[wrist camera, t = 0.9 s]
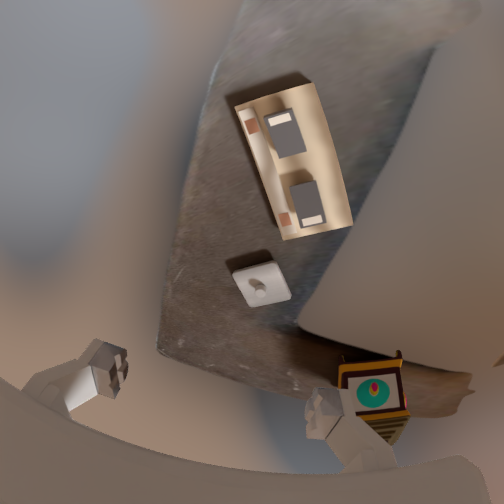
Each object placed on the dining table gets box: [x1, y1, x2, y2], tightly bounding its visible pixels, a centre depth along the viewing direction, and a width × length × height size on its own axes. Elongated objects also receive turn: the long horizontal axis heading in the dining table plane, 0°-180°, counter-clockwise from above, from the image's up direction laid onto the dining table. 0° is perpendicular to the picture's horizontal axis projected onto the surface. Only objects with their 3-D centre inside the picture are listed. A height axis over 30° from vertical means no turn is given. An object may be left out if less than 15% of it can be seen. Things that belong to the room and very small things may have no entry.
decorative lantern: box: [338, 350, 411, 446], centre depth 59 cm, size 20×20×30 cm
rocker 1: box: [263, 107, 307, 159], centre depth 40 cm, size 4×7×2 cm, turn 20°
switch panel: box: [235, 83, 353, 240], centre depth 45 cm, size 13×25×4 cm, turn 20°
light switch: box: [232, 261, 291, 307], centre depth 59 cm, size 10×10×5 cm
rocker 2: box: [289, 180, 327, 229], centre depth 45 cm, size 4×7×2 cm, turn 20°
